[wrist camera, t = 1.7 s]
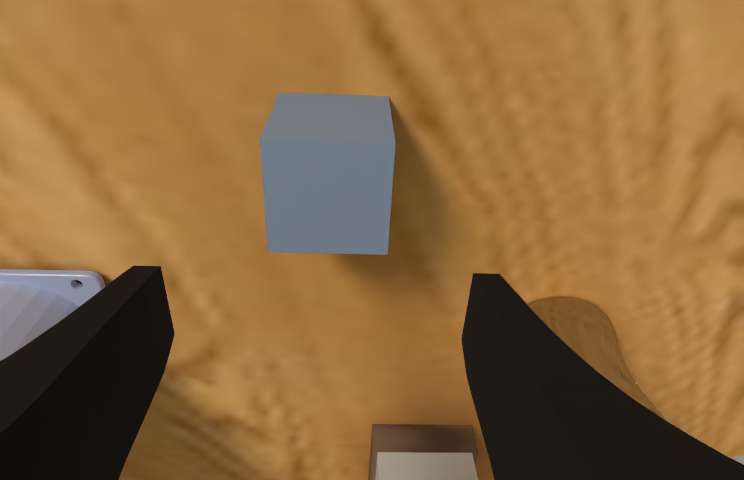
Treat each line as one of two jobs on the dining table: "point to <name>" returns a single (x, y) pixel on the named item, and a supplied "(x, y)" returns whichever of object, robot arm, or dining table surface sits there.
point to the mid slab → (425, 466)
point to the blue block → (328, 173)
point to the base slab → (420, 440)
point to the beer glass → (590, 340)
